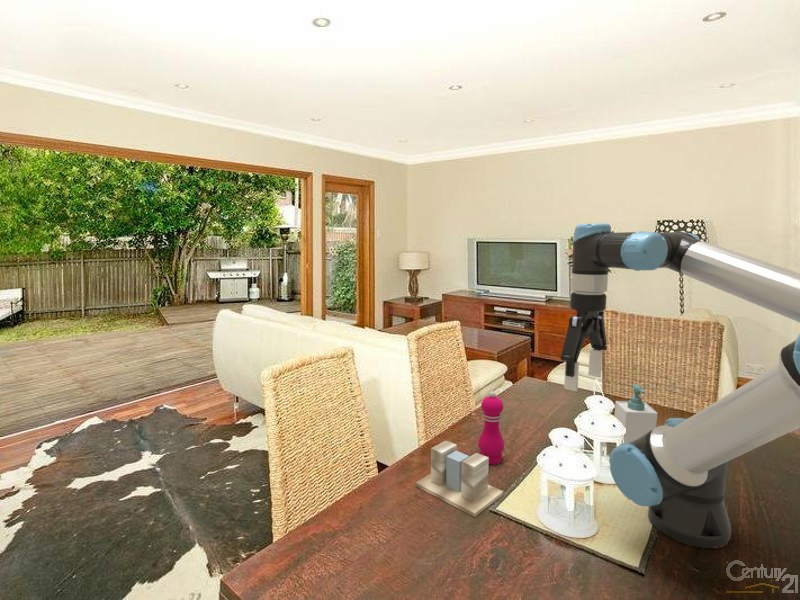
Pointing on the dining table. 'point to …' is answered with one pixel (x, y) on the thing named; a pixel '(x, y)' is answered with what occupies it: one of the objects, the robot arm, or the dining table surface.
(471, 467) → the two-post base plate
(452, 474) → the blue-grey rectangular block
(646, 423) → the soap bottle
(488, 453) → the pepper mill
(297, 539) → the dining table surface
